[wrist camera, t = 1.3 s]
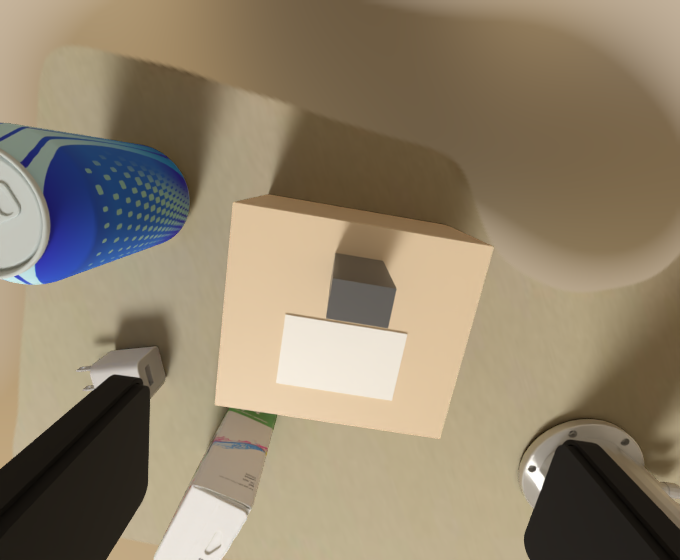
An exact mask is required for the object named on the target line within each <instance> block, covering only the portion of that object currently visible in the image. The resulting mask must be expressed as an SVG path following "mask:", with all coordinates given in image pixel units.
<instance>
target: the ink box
mask: <svg viewBox="0 0 680 560" xmlns="http://www.w3.org/2000/svg"><path fill="white" fill-rule="evenodd" d="M276 418H277V414H270V413H264V412H257V411H250V410H244V409H237V408H229V410H228V411H227V413H226V415H225V417H224V419H223V421H222V422H221V424H220V426H219V428H218V430H217V432H216V434H215V435H214V437H213V439H212V441H211V443H210V445H209V447H208V449H207V451H206V453H205V454H204V456H203V458H202V460H201V462H200V464H199V466H198V468H197V470H196V472H195V474H194V476H193V478H192V480H191V482H190V484H189V486H188V488H187V490H186V492H185V494H184V496H183V498H182V500H181V502H180V504H179V506H178V508H177V510H176V512H175V514H174V516H173V518H172V520H171V522H170V524H169V526H168V529H167V530H166V532H165V534H164V537H163V539H162V541H161V543H160V545H159V547H158V549H157V551H156V553H155V555H154V560H222V558H223V556H224V555H225V554H226V552H227V551H228V549H229V548H230V546H231V544H232V542H233V540H234V539H235V537H236V536H237V535H238V533H239V531H240V530H241V528H242V526H243V524H244V523H245V521H246V520H247V516H248V514H249V513H250V511H251V509H252V507H253V503H254V499H255V496H256V492H257V488H258V485H259V481H260V477H261V473H262V470H263V466H264V462H265V458H266V455H267V451H268V447H269V444H270V440H271V436H272V433H273V429H274V425H275V422H276Z"/></svg>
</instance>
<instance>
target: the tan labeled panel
mask: <svg viewBox="0 0 680 560" xmlns="http://www.w3.org/2000/svg"><path fill="white" fill-rule="evenodd" d="M493 249H494V246H491V245H489V244H483V243H478V242H472V241H466V240H460V239H454V238H448V237H443V236H437V235H431V234H425V233H419V232H413V231H407V230H402V229H396V228H390V227H384V226H378V225H372V224H366V223H361V222H355V221H349V220H343V219H337V218H331V217H325V216H320V215H314V214H308V213H302V212H296V211H290V210H284V209H279V208H273V207H267V206H261V205H255V204H249V203H244V202H238V201H236V202H233V207H232V218H231V229H230V240H229V251H228V262H227V274H226V285H225V296H224V307H223V318H222V329H221V340H220V351H219V362H218V373H217V384H216V395H215V405H217V406H224V407H230V408H237V409H244V410H250V411H257V412H264V413H270V414H277V415H284V416H290V417H297V418H304V419H310V420H317V421H323V422H330V423H337V424H343V425H350V426H357V427H363V428H370V429H377V430H383V431H390V432H397V433H403V434H410V435H417V436H423V437H430V438H437V439H440V437H441V433H442V430H443V426H444V423H445V419H446V415H447V412H448V408H449V405H450V401H451V398H452V394H453V391H454V387H455V384H456V380H457V377H458V373H459V369H460V366H461V362H462V359H463V355H464V352H465V348H466V345H467V341H468V338H469V334H470V331H471V327H472V323H473V320H474V316H475V313H476V309H477V306H478V302H479V299H480V295H481V292H482V288H483V285H484V281H485V277H486V274H487V270H488V267H489V263H490V260H491V256H492V253H493Z"/></svg>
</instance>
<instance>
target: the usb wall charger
mask: <svg viewBox="0 0 680 560" xmlns="http://www.w3.org/2000/svg"><path fill="white" fill-rule="evenodd" d="M76 371H77V372H79V371H90V376H91V379H92V382H93V385H91V386H86V387H85V388H84V389H83V391H89V390H94V389H95V388H96V387H98V386H99V385H100V384H101V383H102V382H103V381H105V380H106V379H107V378H108V377H110V376H111V375H114V374H117V375H124V376H131V377H138V378H141V379H142V381H143V385H145V386H148V387H149V388H150V399H151V398H152V396H153V395H154V394H155V393H156V392H157V391H158V390H159V388H160V387H161V386H162V385H163V384H164V382H165V377H166V376H165V372H164V368H163V364H162V361H161V357H160V353H159V349H158V347H156V346H154V347H144V348H134V349H124V350H114V351H110V352H109V353H107V354H106V355H105V356H103V357H102V358H101V359H99V360H98V361H97V362H95V363H94V364H93V365H92V366H85V367H80V368H79V369H78V370H76ZM87 388H88V389H87Z"/></svg>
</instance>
